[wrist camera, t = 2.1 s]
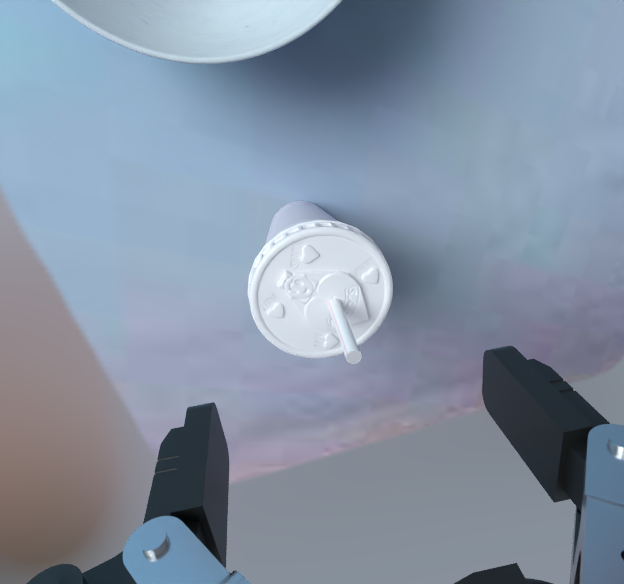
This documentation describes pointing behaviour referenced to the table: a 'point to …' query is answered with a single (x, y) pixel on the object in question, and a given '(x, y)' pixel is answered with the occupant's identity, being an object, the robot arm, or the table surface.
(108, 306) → the table surface
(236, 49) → the chinaware
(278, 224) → the smoothie
